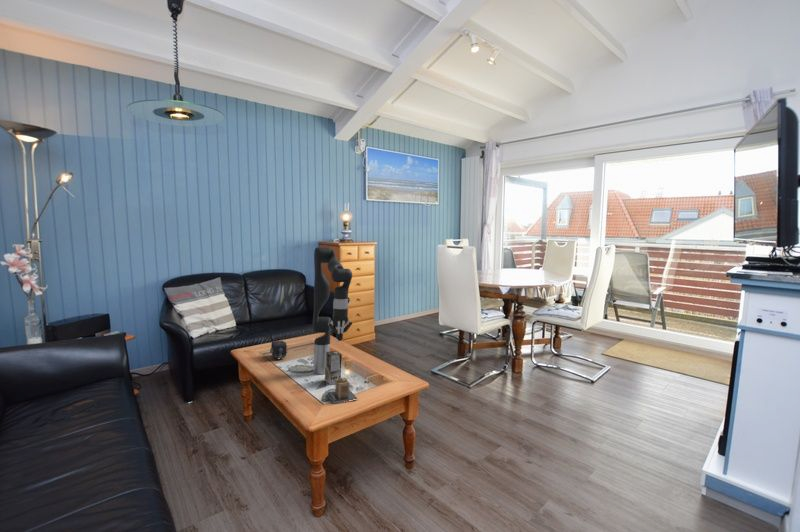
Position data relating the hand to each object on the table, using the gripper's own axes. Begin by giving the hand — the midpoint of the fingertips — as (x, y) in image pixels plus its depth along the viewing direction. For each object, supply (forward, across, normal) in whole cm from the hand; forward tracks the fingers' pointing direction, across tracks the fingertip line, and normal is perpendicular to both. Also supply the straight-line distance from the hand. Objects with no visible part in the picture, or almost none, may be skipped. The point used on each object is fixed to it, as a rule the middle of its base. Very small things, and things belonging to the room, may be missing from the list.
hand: (339, 340), depth 188 cm
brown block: (+25, +1, +9) cm, 27 cm away
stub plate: (+26, +1, +9) cm, 28 cm away
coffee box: (+27, -2, -15) cm, 31 cm away
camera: (+28, +19, -72) cm, 79 cm away
